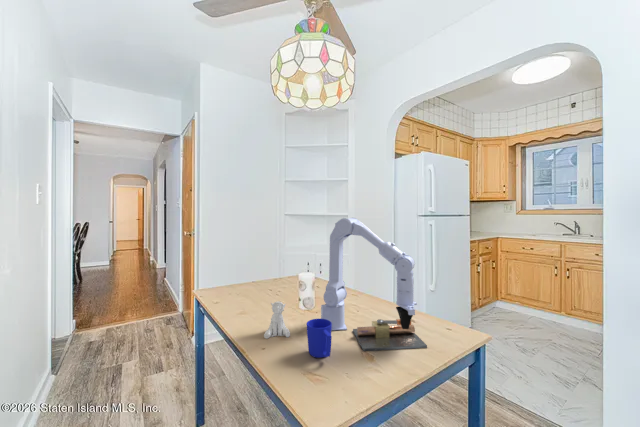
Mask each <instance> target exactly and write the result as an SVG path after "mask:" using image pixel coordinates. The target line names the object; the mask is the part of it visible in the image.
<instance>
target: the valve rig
mask: <svg viewBox="0 0 640 427" xmlns="http://www.w3.org/2000/svg"><path fill="white" fill-rule="evenodd" d="M415 329H416V328H415V325H414V324H411V325H410V326H409V329H403V328H402V326H401V325H397V324H392V325H390V324H383V325H379V324H377V320H375V321H374V320H373V321H371V326H357V327H356V328H353V329H352V332H353V334H354V336H355V338H356V340H357V342H358V344H359V346H360V348H361V349H362V352H375V351H390V350H406V349H407V350H408V349H409V350H410V349H411V350H412V349H427V348H428V345H427V343H425V342H424V341H423V340H422V338H420V336H419V335H417V334H416V333H415V332H416V330H415Z"/></svg>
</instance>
